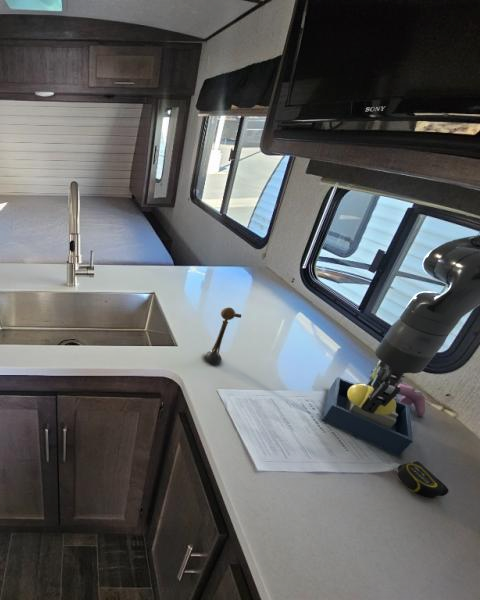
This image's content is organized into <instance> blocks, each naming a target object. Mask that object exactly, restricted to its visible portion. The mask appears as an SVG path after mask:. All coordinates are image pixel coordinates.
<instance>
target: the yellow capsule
mask: <svg viewBox="0 0 480 600" xmlns="http://www.w3.org/2000/svg"><path fill="white" fill-rule="evenodd" d="M354 384H355V385H353V386H351V387H350V388H349V389H348V393H347V394H348V398H349V400H350V401H351V402H352V403H353V404H355V405H356V406H358V407H361V406H362V404H363V403H364V401H365V400H366V399H367V397H368V395H369V394H370V392H371V390H372V389H373V387H371V386H368V385H367V384H365V383H362V384H356V383H354ZM395 409H396V402H395V400H394V398H393V399H392V400H391V401H390V402H389V403H388V404H387V405H386V406H382V405H380V406H379V407H378V408H377V410H376V411H375V412H374V413H375V414H378V415H388V414H391V413H393V412H394V411H395Z"/></svg>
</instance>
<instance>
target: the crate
mask: <svg viewBox="0 0 480 600" xmlns="http://www.w3.org/2000/svg"><path fill="white" fill-rule="evenodd" d="M355 384H356V383H354V382H352V381H349V380H347V379H345V378H342V377H340V376H337V377H336V378H335V379H334V381H333V383H332V384H331V386H330V388H329V389H328V391H327V396H326V401H325V405H324V410H323V415H322V421H323V422H325V423H328V424H330V425H331V426H334V427H336V428H338V429H339V430H342V431H345V432H347V433H348V434H351V435H353V436H355V437H357V438H359V439H361V440H363V441H364V442H365V441H366V442H368V443H369V444H371V445H374V446H376V447H377V448H381V449H382V450H384V451H387V452H388V453H390V454H392V455H395V456H397V457H400V456H401V455H402V454H403V453H404V452H405V451H406V450H407V449H408V447H410V445H411V444H412V443H413V442H414V438H413V437H414V436H413V428H412V427H413V426H412V416H411V405H410V406H409V405H406V404H404V403H401V402H399V400H397V401H395V402H396V413H397V414H398V417H397V418H396V422H395V423H394V425H393V426H392V427H391V428H390V429H389V428H387V427H384V426H382V425H380V424H378V423H375V422H373V421H371V420H369V419H366V418H364V417H362V416H360V415H357V414H355V413H353V412H351V411H348V410H346V409H344V401H345V399H346V397H347V396H348V394H347V393H348V389H349V388H350V387H351V386H353V385H355Z"/></svg>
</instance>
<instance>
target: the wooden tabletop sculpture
mask: <svg viewBox="0 0 480 600" xmlns="http://www.w3.org/2000/svg"><path fill="white" fill-rule="evenodd" d="M220 316H221V318H222V319H224V320H222V323H221V327H220V330H219V333H218V336H217V339H216V340H215V343H214V345H213V347H212V348H211V350H210V351H207V353H206V355H205V356H204V360H205V362H206V363H208V364H209V365H211V366H219V365H220V364H221V362H222V356H221V354H220V349H221V345H222V341H223V338H224V335H225V332H226V329H227V327H228V324H229V321H231V320H233V319H234V318H239V319H241V318H242V314H241V313H236V310H235V309H234V308H232V307H229V306H228V307H224V308H223V309H222V310H221V311H220Z"/></svg>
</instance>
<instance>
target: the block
mask: <svg viewBox="0 0 480 600" xmlns="http://www.w3.org/2000/svg"><path fill="white" fill-rule="evenodd" d="M355 384H363V383H362V382H359V381H356V382H355ZM397 398H398V396H397V397H394V400H395V401H396V400H397V401H398V399H397ZM344 409H346V410H348V411H351V412H353V413H355V414H357V415H360V416H362V417H364V418H366V419H369V420H371V421H373V422H375V423H378V424H380V425H382V426H384V427H387V428H389V429H390V428H391V427H392V426H393V425H394V423H395V422H396V418H397V417H398V414H397V413H396V409H395V411H394V412H393V413H391V414H388V415H378V414H375V413H373V414H371V413H368V412H366V411H364V410H362V409H361V407H358V406H356V405H355V404H353V403H352V402H351V401H350V400H349V398H348V396H347V397H346V399H345V401H344Z"/></svg>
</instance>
